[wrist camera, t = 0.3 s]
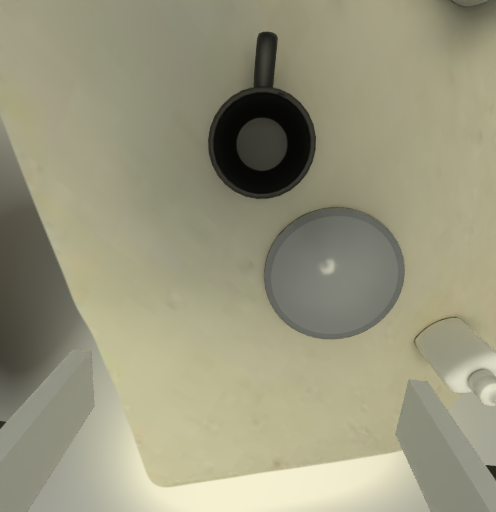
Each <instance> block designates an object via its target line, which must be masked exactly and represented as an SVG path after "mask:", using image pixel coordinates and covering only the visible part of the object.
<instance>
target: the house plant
mask: <svg viewBox="0 0 496 512" xmlns="http://www.w3.org/2000/svg"><path fill="white" fill-rule="evenodd" d="M452 1H453V2H455V3H456V4H458V5H462V6H474V5H478V4H481V3H484V2H487V1H490V0H452Z"/></svg>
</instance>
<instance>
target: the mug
mask: <svg viewBox="0 0 496 512" xmlns="http://www.w3.org/2000/svg"><path fill="white" fill-rule="evenodd" d="M277 40H278V38H277V35H276V34H274V33H272V32H262V33H259V35H258V38H257V46H256V59H255V73H254V87H253V88H249V89H246V90H242V91H240V92H239V93H237V94H235V95H233V96H232V97H230V98H229V99H228V100H227V101H226V102H225V103H224V104H223V105H222V106H221V108H220V109H219V111H218V112H217V114H216V115H215V117H214V119H213V122H212V125H211V127H210V132H209V139H208V145H209V155H210V158H211V162H212V165H213V167H214V169H215V171H216V173H217V175H218V176H219V177H220V178H221V180H222V181H223V182H224V183H225V184H226V185H227V186H228V187H230V188H231V189H232V190H234V191H235V192H237V193H239V194H241V195H244V196H246V197H251V198H256V199H266V198H272V197H276V196H280V195H282V194H284V193H286V192H288V191H290V190H291V189H292V188H294V187H295V186H296V185H297V184H299V183H300V181H301V180H302V179H303V178H304V176H305V175H306V174H307V172H308V170H309V168H310V166H311V164H312V162H313V158H314V154H315V150H316V136H315V130H314V125H313V123H312V120H311V118H310V116H309V114H308V112H307V111H306V109H305V108H304V107H303V105H302V104H301V103H300V102H299V101H298V100H297V99H295V98H294V97H293V96H292V95H291V94H289V93H286V92H284V91H282V90H280V89H277V88H273V81H274V70H275V60H276V51H277Z"/></svg>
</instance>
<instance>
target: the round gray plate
mask: <svg viewBox="0 0 496 512" xmlns="http://www.w3.org/2000/svg"><path fill="white" fill-rule="evenodd" d="M403 281H404V260H403V255H402V252H401V249H400V247H399V245H398V242H397V241H396V239H395V238H394V236H393V235H392V233H391V232H390V231H389V230H388V229H387V228H386V227H385V226H384V225H383V224H382V223H380V222H379V221H378V220H376V219H374V218H373V217H371V216H370V215H367V214H365V213H363V212H360V211H357V210H354V209H348V208H325V209H320V210H316V211H313V212H310V213H308V214H305V215H303V216H302V217H300V218H298V219H296V220H295V221H293V222H292V223H291V224H289V225H288V226H287V227H286V228H285V229H284V230H283V231H282V232H281V233H280V235H279V236H278V237H277V238H276V240H275V241H274V243H273V245H272V247H271V249H270V251H269V253H268V257H267V260H266V265H265V288H266V292H267V296H268V299H269V301H270V304H271V305H272V307H273V309H274V311H275V312H276V313H277V314H278V316H279V317H280V318H281V319H282V320H283V321H284V322H285V323H286V324H287V325H289V326H290V327H291V328H293V329H295V330H296V331H298V332H300V333H303V334H305V335H307V336H311V337H315V338H321V339H342V338H347V337H351V336H354V335H357V334H360V333H362V332H364V331H366V330H368V329H370V328H371V327H373V326H375V325H376V324H377V323H378V322H380V321H381V320H382V319H383V318H384V317H385V316H386V315H387V314H388V313H389V311H390V310H391V309H392V308H393V306H394V304H395V303H396V301H397V299H398V297H399V295H400V293H401V289H402V286H403Z"/></svg>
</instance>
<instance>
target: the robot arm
mask: <svg viewBox="0 0 496 512" xmlns="http://www.w3.org/2000/svg"><path fill="white" fill-rule="evenodd" d="M93 408H94V391H93V373H92V354H91V351H85V350H75V349H73V350H72V351H71V352H70V353H69V354H68V355H67V356H66V358H65V359H64V360H63V361H62V362H61V363H60V364H59V365H58V366H57V368H56V369H55V370H54V371H53V372H52V373H51V374H50V375H49V376H48V377H47V378H46V379H45V381H44V382H43V383H42V384H41V385H40V386H39V387H38V388H37V389H36V391H35V392H34V393H33V394H32V395H31V396H30V397H29V398H28V399H27V400H26V402H25V403H24V404H23V405H22V406H21V407H20V408H19V409H18V410H17V411H16V412H15V414H14V415H13V416H12V417H11V418H10V419H9V420H8V421H7V422H3V421H0V512H28V510H29V508H30V507H31V505H32V504H33V502H34V500H35V499H36V497H37V496H38V494H39V492H40V491H41V489H42V488H43V486H44V485H45V483H46V482H47V480H48V478H49V477H50V475H51V474H52V472H53V471H54V469H55V467H56V466H57V464H58V463H59V461H60V460H61V458H62V456H63V455H64V453H65V452H66V450H67V448H68V447H69V445H70V444H71V442H72V441H73V439H74V437H75V436H76V434H77V433H78V431H79V429H80V428H81V426H82V425H83V423H84V422H85V420H86V419H87V417H88V415H89V414H90V412H91V410H92V409H93ZM396 436H397V438H398V441H399V443H400V445H401V447H402V449H403V452H404V454H405V456H406V458H407V460H408V463H409V465H410V467H411V469H412V471H413V473H414V476H415V478H416V480H417V482H418V484H419V487H420V489H421V491H422V493H423V496H424V498H425V500H426V502H427V504H428V507H429V509H430V511H431V512H496V466H490V465H485V464H484V463H483V461H482V460H481V458H480V457H479V455H478V454H477V452H476V451H475V450H474V448H473V447H472V445H471V444H470V442H469V441H468V439H467V438H466V437H465V435H464V434H463V432H462V431H461V429H460V428H459V426H458V425H457V424H456V422H455V421H454V419H453V418H452V416H451V415H450V413H449V412H448V410H447V409H446V407H445V406H444V405H443V403H442V402H441V400H440V399H439V397H438V396H437V394H436V393H435V391H434V390H433V389H432V387H431V386H430V384H429V383H428V381H419V380H408V384H407V388H406V393H405V397H404V401H403V405H402V409H401V413H400V417H399V421H398V425H397V429H396Z"/></svg>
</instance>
